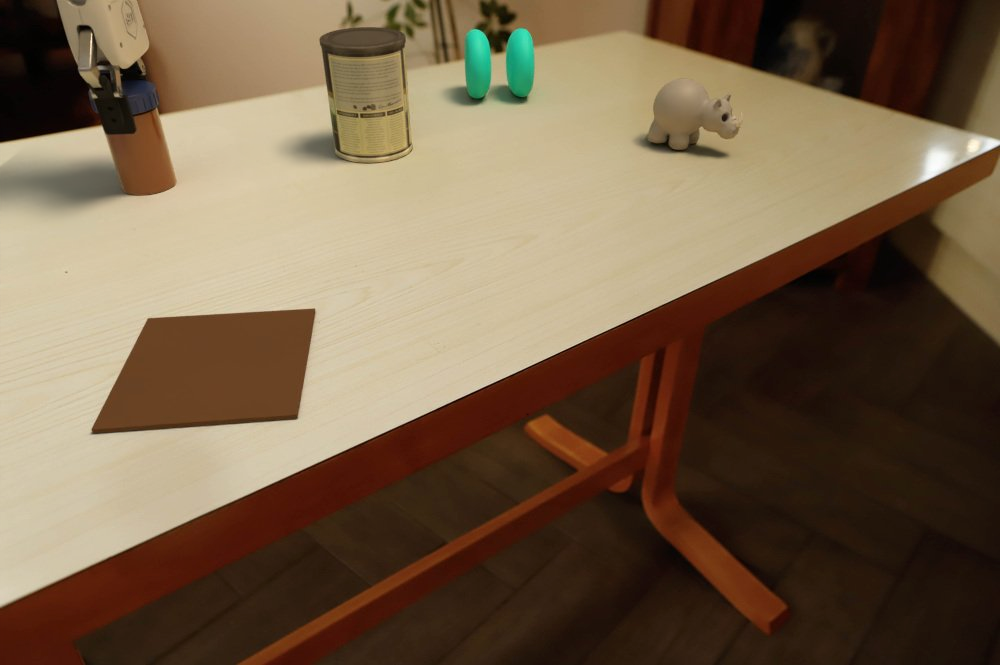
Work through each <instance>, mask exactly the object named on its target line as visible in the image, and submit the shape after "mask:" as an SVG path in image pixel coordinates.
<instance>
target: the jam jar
mask: <svg viewBox="0 0 1000 665" xmlns="http://www.w3.org/2000/svg"><path fill="white" fill-rule="evenodd" d="M132 115H133V118H134V121H135V125H136V128H137V130H136V132H135V133H134V134H115V135H108V134H106V133H105V132H104V129H103V126H102V123H101V122H100V123H101V127H102V131H103V133H104V136H105V138H106V142H107V145H108V148H109V152H110V155H111V158H112V161H113V164H114V168H115V171H116V175H117V177H118V181H119V184H120V187H121V189H122V190H121V191H123V192H124V193H126V194H128V195H131V196H132V195H133V196H147V195H155V194H159V193H163V192H165V191H168V190H170V189H172V188H173V187H175V185H176V184H177V182H178V179H177V176H176V173H175V168H174V165H173V160H172V157H171V153H170V150H169V147H168V142H167V139H166V135H165V131H164V127H163V124H162V119H161V117H160V112H159V109H158V105H157V106H156V107H155V108H153V109H150V110H148V111H145V112H141V113H136V114H132Z"/></svg>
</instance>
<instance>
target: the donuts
mask: <svg viewBox="0 0 1000 665" xmlns="http://www.w3.org/2000/svg"><path fill="white" fill-rule="evenodd" d="M534 47H535V46H534V41H533V36H532V34H531V32H529V31H528V29H526V28H522V27H521V28H517V29H515V30H513V31H512V33H511V34H510V36H509V38H508V39H507V42H506V50H505V71H506V72H505V73H506V81H507V85H508V88H509V89H510V91H511V92H512V94H513V95H514V96H516V97H518V98H526V97H527V96H529V95H530V93H531V92H532V89H533V86H534V81H535V48H534ZM464 74H465V85H466V90H467V93H468V95H469V96H470V97H471V98H473V99H481V98H483V97H484V96H486V95H487V93H488V91H489V89H490V87H491V82H492V52H491V46H490V41H489V40H488V37H487V36H486V34H485V33H484V32H483V31H482V30H480V29H477V28H473V29H470V30H469V31H468V32H467V33H466V35H465V38H464Z"/></svg>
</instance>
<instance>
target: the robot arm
mask: <svg viewBox="0 0 1000 665" xmlns="http://www.w3.org/2000/svg"><path fill="white" fill-rule="evenodd" d="M56 4H57V8H58V11H59V15H60V19H61V22H62V25H63V29H64V32H65V36H66V39H67V42H68V45H69V47H70V50H71V53H72V56H73V59H74V60H75V63H76V65H77V71H78V73H79V75H80V76H81V77H82V79H83V80H84V82H85V85H86V86H87V87H88V88H89V90H90V93H91V96H92V98H93V99H94V101H95V104H96V107H97V110H98V113H97V114H98V118H99V120H100V123H102V124H101V127H102V126H103V127H102V130H103V129H104V130H103V133H104V132H105V133H106V134H108V135H115V134H134V133H135V132H136V130H137V128H136V125H135V121H134V118H133V115H132V111H131V108H130V104H129V101H128V97H127V95H122V86H121V81H125V80H142V81H148V82H149V80H148V75H146V74H147V73H146V72H147V71H146V65H145V63H144V61H143V59H142V56H144V54H145V53H146V52H147V51H148V50H149V48H150V40H149V36H148V32H147V29H146V26H145V22H144V19H143V16H142V12H141V10H140V6H139V3H138V1H137V0H56ZM105 61H106V62H107V61H108V62H109V64H98V63H99V62H105ZM105 74H110V79H109V78H108V77H107V76H106V75H105ZM111 82H112V83H111ZM105 133H104V134H105Z"/></svg>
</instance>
